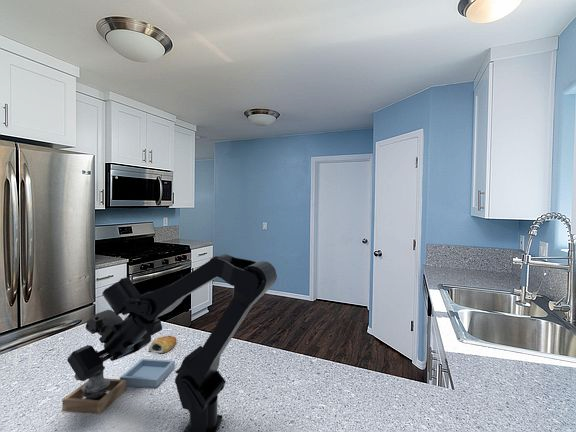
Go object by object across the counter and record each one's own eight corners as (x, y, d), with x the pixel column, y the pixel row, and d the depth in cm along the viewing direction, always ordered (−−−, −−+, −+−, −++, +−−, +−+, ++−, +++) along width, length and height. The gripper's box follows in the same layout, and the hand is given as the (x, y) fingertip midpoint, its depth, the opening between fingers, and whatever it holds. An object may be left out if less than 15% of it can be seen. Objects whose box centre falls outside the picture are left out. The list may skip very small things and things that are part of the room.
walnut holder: (100, 413, 68) (100, 402, 68) (62, 410, 69) (62, 399, 69) (126, 389, 77) (126, 379, 77) (92, 387, 78) (92, 377, 78)
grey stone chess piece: (96, 409, 69) (96, 357, 69) (74, 405, 71) (75, 354, 70) (115, 394, 75) (116, 346, 75) (95, 390, 76) (95, 343, 76)
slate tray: (156, 388, 78) (156, 380, 78) (119, 385, 79) (119, 377, 79) (174, 368, 88) (174, 360, 88) (141, 366, 89) (141, 358, 89)
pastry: (164, 340, 106) (164, 330, 106) (181, 343, 105) (182, 332, 105) (146, 352, 97) (146, 341, 97) (165, 355, 96) (165, 343, 96)
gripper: (142, 291, 80) (109, 327, 83) (74, 314, 62) (35, 358, 66) (167, 325, 78) (132, 360, 81) (103, 359, 60) (62, 402, 63)
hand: (94, 368), depth 73 cm, fingers open, 9 cm apart
